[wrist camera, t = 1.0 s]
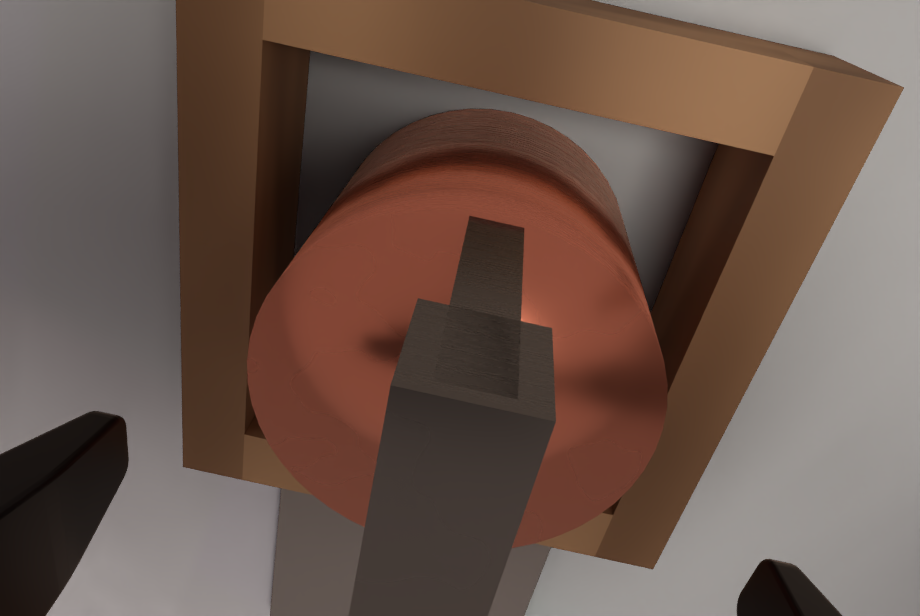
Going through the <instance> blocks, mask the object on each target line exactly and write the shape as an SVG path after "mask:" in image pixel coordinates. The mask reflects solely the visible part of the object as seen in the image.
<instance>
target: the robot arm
mask: <svg viewBox="0 0 920 616" xmlns="http://www.w3.org/2000/svg"><path fill="white" fill-rule="evenodd" d="M127 467H128V445H127V431H126V423H125V420H124V419H123V418H122V417H120V416H118V415H113V414H109V413H104V412H99V411H92V412H89V413H86V414H84V415H82V416H80V417H78V418H76V419H73V420H71V421H69V422H67V423H65V424H63V425H61V426H59V427H57V428H55V429H52V430H50V431H48V432H46V433H44V434H42V435H40V436H38V437H36V438H34V439H31V440H29V441H27V442H25V443H23V444H21V445H19V446H17V447H15V448H13V449H10V450H8V451H6V452H4V453H2V454H0V616H46V614H47V613H48V612H49V610H50V609H51V607H52V606H53V604H54V603H55V601H56V600H57V598H58V597H59V595H60V594H61V592H62V590H63V589H64V587H65V586H66V584H67V583H68V581H69V579H70V578H71V576H72V574H73V573H74V571H75V569H76V567H77V565H78V564H79V562H80V560H81V558H82V556H83V554H84V552H85V551H86V549H87V547H88V545H89V543H90V541H91V539H92V537H93V535H94V534H95V532H96V530H97V528H98V526H99V524H100V522H101V520H102V518H103V516H104V515H105V513H106V511H107V509H108V507H109V505H110V503H111V501H112V499H113V497H114V496H115V494H116V492H117V490H118V488H119V486H120V484H121V482H122V480H123V478H124V476H125V474H126V471H127ZM737 616H842V615H841V614H840V613H839V611H838V610H837V609H836V608H835V607H834V606H833V605H832V604H831V603H830V602H829V600H828V599H827V598H826V597H825V596H824V595H823V594H822V593H821V592H820V591H819V590H818V588H817V587H816V586H815V585H814V584H813V583H812V582H811V581H810V580H809V579H808V578H807V576H806V575H805V574H804V573H803V572H802V571H801V570H800V569H799V568H798V567H796V566H795V565H793V564H790V563H786V562H781V561H777V560H772V559H765V560H763V561H761V562H760V564H759V565H758V566H757V568H756V569H755V571H754V573H753V574H752V576H751V577H750V579H749V581H748V582H747V584H746V585H745V587H744V588H743V590H742V592H741V593H740V595H739V598H738V603H737Z"/></svg>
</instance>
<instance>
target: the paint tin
mask: <svg viewBox="0 0 920 616" xmlns="http://www.w3.org/2000/svg"><path fill="white" fill-rule="evenodd" d="M247 378H248V387H249V392H250V397H251V403H252V406H253V409H254V412H255V415H256V418H257V421H258V424H259V426H260V428H261V430H262V432H263V434H264V436H265V438H266V440H267V442H268V444H269V445H270V447H271V448H272V450H273V451H274V453H275V454H276V456H277V457H278V459H279V460H280V461H281V463H282V464H283V465H284V466H285V468H286V469H287V470H288V471H289V472H290V473H291V474H292V476H293V477H294V478H295V479H296V480H297V481H298V482H299V483H300V484H301V485H302V486H303V487H305V488H306V489H307V490H308V491H309V492H310V493H311V494H312V495H313V496H315V497H316V498H317V499H319V500H320V501H321V502H323V503H324V504H325V505H327V506H328V507H329V508H331V509H332V510H334V511H336V512H337V513H339V514H341V515H342V516H344V517H346V518H347V519H349V520H351V521H353V522H355V523H357V524H359V525H361V526H363V527H365V528H364V533H363V539H362V544H361V550H360V555H359V561H358V566H357V572H356V577H355V583H354V588H353V594H352V599H351V605H350V610H349V616H488V614H489V611H490V608H491V606H492V603H493V600H494V597H495V594H496V591H497V588H498V586H499V583H500V580H501V577H502V574H503V571H504V568H505V566H506V563H507V560H508V557H509V554H510V551H511V549H512V548H515V547H520V546H525V545H530V544H535V543H538V542H541V541H544V540H548V539H551V538H554V537H557V536H559V535H562V534H564V533H566V532H569V531H571V530H573V529H575V528H578V527H579V526H581V525H583V524H585V523H586V522H588V521H590V520H592V519H593V518H595V517H597V516H598V515H600V514H601V513H602V512H604V511H605V510H606V509H608V508H609V507H610V506H612V505H613V504H614V503H615V502H616V501H617V500H619V499H620V498H621V497H622V496H623V495H624V494H625V493H626V492H627V491H628V490H629V489H630V488H631V487H632V485H633V484H634V483H635V481H636V480H637V479H638V478H639V476H640V475H641V474H642V472H643V471H644V470H645V468H646V466H647V464H648V463H649V461H650V459H651V457H652V455H653V454H654V452H655V450H656V447H657V444H658V442H659V439H660V436H661V433H662V431H663V426H664V421H665V416H666V411H667V387H668V384H667V377H666V371H665V364H664V359H663V356H662V352H661V349H660V345H659V342H658V338H657V335H656V332H655V328H654V325H653V321H652V318H651V314H650V311H649V308H648V304H647V301H646V297H645V294H644V290H643V287H642V284H641V280H640V277H639V273H638V270H637V266H636V263H635V260H634V256H633V253H632V249H631V246H630V242H629V239H628V236H627V232H626V229H625V225H624V222H623V219H622V215H621V212H620V209H619V206H618V203H617V199H616V197H615V195H614V193H613V191H612V189H611V187H610V185H609V183H608V181H607V179H606V178H605V176H604V175H603V173H602V172H601V171H600V169H599V168H598V166H597V165H596V164H595V163H594V162H593V160H592V159H591V158H590V157H589V156H588V155H587V154H586V153H585V152H584V151H583V150H582V149H581V148H580V147H579V146H577V145H576V144H575V143H574V142H573V141H571V140H570V139H569V138H568V137H566V136H564V135H563V134H561V133H560V132H558V131H556V130H555V129H553V128H552V127H550V126H547V125H545V124H543V123H541V122H539V121H536V120H534V119H532V118H529V117H525V116H522V115H519V114H515V113H512V112H506V111H499V110H493V109H463V110H454V111H447V112H443V113H439V114H435V115H431V116H428V117H426V118H423V119H421V120H418V121H416V122H413V123H411V124H409V125H407V126H406V127H404V128H402V129H400V130H399V131H397V132H395V133H393V134H392V135H391V136H390V137H388V138H387V139H386V140H384V141H383V142H382V143H381V144H379V145H378V146H377V147H376V148H375V149H374V150H373V151H372V152H371V153H370V154H369V156H368V157H367V158H366V159H365V160H364V161H363V163H362V164H361V166H360V167H359V168H358V170H357V171H356V173H355V174H354V175H353V177H352V178H351V179H350V181H349V182H348V184H347V185H346V186H345V188H344V189H343V191H342V192H341V193H340V195H339V196H338V198H337V199H336V200H335V202H334V203H333V204H332V206H331V207H330V209H329V210H328V211H327V213H326V214H325V216H324V217H323V218H322V220H321V221H320V222H319V224H318V225H317V227H316V228H315V229H314V231H313V232H312V234H311V235H310V236H309V238H308V239H307V240H306V242H305V243H304V245H303V246H302V247H301V249H300V250H299V252H298V253H297V254H296V256H295V257H294V258H293V260H292V261H291V263H290V264H289V265H288V267H287V268H286V270H285V271H284V272H283V274H282V275H281V277H280V278H279V279H278V281H277V282H276V283H275V285H274V286H273V288H272V289H271V290H270V292H269V293H268V295H267V296H266V298H265V300H264V302H263V304H262V306H261V308H260V310H259V312H258V314H257V316H256V319H255V323H254V326H253V329H252V333H251V336H250V341H249V348H248V356H247Z"/></svg>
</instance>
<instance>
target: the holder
mask: <svg viewBox="0 0 920 616" xmlns="http://www.w3.org/2000/svg"><path fill="white" fill-rule="evenodd" d="M176 38H177V104H178V169H179V234H180V299H181V364H182V429H183V467H186V468H191V469H195V470H200V471H204V472H209V473H214V474H218V475H223V476H227V477H232V478H236V479H241V480H246V481H250V482H255V483H259V484H264V485H269V486H273V487H278V488H282V489H287V490H292V491H296V492H301V493H305V494H310V495H312V494H311V493H310V492H309V491H308V490H307V489H306V488H305V487H303V486H302V485H301V484H300V483H299V482H298V481H297V480H296V479H295V478H294V477H293V476H292V474H291V473H290V472H289V471H288V470H287V469H286V468H285V466H284V465H283V464H282V463H281V461H280V460H279V459H278V457H277V456H276V454H275V453H274V451H273V450H272V448H271V447H270V445H269V444H268V442H267V440H266V438H265V436H264V434H263V432H262V430H261V428H260V426H259V424H258V421H257V418H256V415H255V412H254V409H253V406H252V403H251V397H250V392H249V387H248V378H247V356H248V348H249V341H250V336H251V333H252V329H253V326H254V323H255V319H256V316H257V314H258V312H259V310H260V308H261V306H262V304H263V302H264V300H265V298H266V296H267V295H268V293H269V292H270V290H271V289H272V288H273V286H274V285H275V283H276V282H277V281H278V279H279V278H280V277H281V275H282V274H283V272H284V271H285V270H286V268H287V267H288V265H289V264H290V263H291V261H292V260H293V258H294V245H295V233H296V221H297V208H298V196H299V183H300V171H301V159H302V146H303V134H304V121H305V109H306V97H307V84H308V72H309V59H310V51H315V52H319V53H324V54H328V55H332V56H337V57H341V58H346V59H350V60H354V61H359V62H363V63H368V64H372V65H376V66H381V67H385V68H390V69H394V70H398V71H403V72H407V73H412V74H416V75H420V76H425V77H429V78H434V79H438V80H442V81H447V82H451V83H456V84H460V85H464V86H469V87H473V88H478V89H482V90H486V91H491V92H495V93H500V94H504V95H508V96H513V97H517V98H522V99H526V100H530V101H535V102H539V103H544V104H548V105H552V106H557V107H561V108H566V109H570V110H574V111H579V112H583V113H588V114H592V115H596V116H601V117H605V118H610V119H614V120H618V121H623V122H627V123H632V124H636V125H640V126H645V127H649V128H654V129H658V130H662V131H667V132H671V133H676V134H680V135H684V136H689V137H693V138H698V139H702V140H706V141H711V142H715V143H719V144H718V147H717V149H716V152H715V154H714V157H713V159H712V162H711V164H710V167H709V169H708V172H707V174H706V177H705V179H704V182H703V184H702V187H701V189H700V192H699V194H698V197H697V199H696V202H695V204H694V207H693V209H692V212H691V214H690V217H689V219H688V222H687V224H686V227H685V229H684V232H683V234H682V237H681V239H680V242H679V244H678V247H677V249H676V252H675V254H674V257H673V259H672V262H671V264H670V267H669V269H668V272H667V274H666V277H665V279H664V282H663V284H662V287H661V289H660V292H659V294H658V297H657V299H656V301H655V304H654V306H653V309H652V311H651V318H652V321H653V325H654V328H655V332H656V335H657V338H658V342H659V345H660V349H661V352H662V356H663V359H664V364H665V371H666V377H667V384H668V387H667V411H666V416H665V421H664V426H663V431H662V433H661V436H660V439H659V442H658V444H657V447H656V450H655V452H654V454H653V455H652V457H651V459H650V461H649V463H648V464H647V466H646V468H645V470H644V471H643V472H642V474H641V475H640V476H639V478H638V479H637V480H636V481H635V483H634V484H633V485H632V487H631V488H630V489H629V490H628V491H627V492H626V493H625V494H624V495H623V496H622V497H621V498H620V499H619V500H617V501H616V502H615V503H614V504H613V505H612V506H610V507H609V508H608V509H606V510H605V511H604V512H602V513H601V514H600V515H598V516H597V517H595V518H593V519H592V520H590V521H588V522H586V523H585V524H583V525H581V526H579V527H578V528H575V529H573V530H571V531H569V532H566V533H564V534H562V535H559V536H557V537H554V538H551V539H548V540H544V541H541V542H538V543H535V544H539V545H544V546H548V547H553V548H558V549H562V550H567V551H571V552H576V553H581V554H585V555H590V556H594V557H599V558H603V559H608V560H613V561H617V562H622V563H626V564H631V565H636V566H640V567H645V568H649V569H653V568H654V566H655V564H656V563H657V561H658V559H659V557H660V555H661V553H662V551H663V549H664V547H665V545H666V543H667V541H668V540H669V538H670V536H671V534H672V532H673V530H674V528H675V526H676V524H677V522H678V520H679V518H680V516H681V515H682V513H683V511H684V509H685V507H686V505H687V503H688V501H689V499H690V497H691V495H692V493H693V492H694V490H695V488H696V486H697V484H698V482H699V480H700V478H701V476H702V474H703V472H704V470H705V469H706V467H707V465H708V463H709V461H710V459H711V457H712V455H713V453H714V451H715V449H716V447H717V446H718V444H719V442H720V440H721V438H722V436H723V434H724V432H725V430H726V428H727V426H728V424H729V422H730V421H731V419H732V417H733V415H734V413H735V411H736V409H737V407H738V405H739V403H740V401H741V399H742V398H743V396H744V394H745V392H746V390H747V388H748V386H749V384H750V382H751V380H752V378H753V376H754V375H755V373H756V371H757V369H758V367H759V365H760V363H761V361H762V359H763V357H764V355H765V353H766V351H767V350H768V348H769V346H770V344H771V342H772V340H773V338H774V336H775V334H776V332H777V330H778V328H779V327H780V325H781V323H782V321H783V319H784V317H785V315H786V313H787V311H788V309H789V307H790V305H791V304H792V302H793V300H794V298H795V296H796V294H797V292H798V290H799V288H800V286H801V284H802V282H803V280H804V279H805V277H806V275H807V273H808V271H809V269H810V267H811V265H812V263H813V261H814V259H815V257H816V256H817V254H818V252H819V250H820V248H821V246H822V244H823V242H824V240H825V238H826V236H827V234H828V233H829V231H830V229H831V227H832V225H833V223H834V221H835V219H836V217H837V215H838V213H839V211H840V209H841V208H842V206H843V204H844V202H845V200H846V198H847V196H848V194H849V192H850V190H851V188H852V186H853V185H854V183H855V181H856V179H857V177H858V175H859V173H860V171H861V169H862V167H863V165H864V163H865V162H866V160H867V158H868V156H869V154H870V152H871V150H872V148H873V146H874V144H875V142H876V140H877V139H878V137H879V135H880V133H881V131H882V129H883V127H884V125H885V123H886V121H887V119H888V117H889V115H890V114H891V112H892V110H893V108H894V106H895V104H896V102H897V100H898V98H899V96H900V94H901V92H902V91H903V89H904V87H901V86H899V85H897V84H895V83H893V82H890V81H888V80H886V79H884V78H881V77H879V76H877V75H875V74H873V73H870V72H868V71H866V70H864V69H861V68H859V67H857V66H855V65H853V64H850V63H848V62H846V61H844V60H841V59H839V58H837V57H835V56H832V55H827V54H823V53H818V52H814V51H810V50H805V49H801V48H797V47H792V46H788V45H784V44H779V43H775V42H771V41H766V40H762V39H758V38H753V37H749V36H744V35H740V34H736V33H731V32H727V31H723V30H718V29H714V28H710V27H705V26H701V25H697V24H692V23H688V22H683V21H679V20H675V19H670V18H666V17H662V16H657V15H653V14H649V13H644V12H640V11H636V10H631V9H627V8H622V7H618V6H614V5H609V4H605V3H601V2H596V1H592V0H176Z"/></svg>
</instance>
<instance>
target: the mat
mask: <svg viewBox="0 0 920 616" xmlns="http://www.w3.org/2000/svg"><path fill="white" fill-rule="evenodd" d="M364 528H365V527H363V526H361V525H359V524H357V523H355V522H353V521H351V520H349V519H347V518H346V517H344V516H342V515H341V514H339V513H337V512H336V511H334V510H332V509H331V508H329V507H328V506H327V505H325V504H324V503H323V502H321V501H320V500H319V499H317V498H316V497H315V496H313V495H310V494H305V493H301V492H296V491H292V490H287V489H282V488H281V496H280V507H279V519H278V530H277V542H276V553H275V565H274V576H273V588H272V599H271V611H270V616H349V610H350V605H351V599H352V594H353V588H354V583H355V577H356V572H357V566H358V561H359V555H360V550H361V544H362V539H363V533H364ZM550 549H551V547H548V546H544V545H539V544H530V545H525V546H520V547H515V548H512V549H511V551H510V554H509V557H508V560H507V563H506V566H505V568H504V571H503V574H502V577H501V580H500V583H499V586H498V588H497V591H496V594H495V597H494V600H493V603H492V606H491V608H490V611H489V614H488V616H524V615H525V612H526V610H527V607H528V604H529V602H530V599H531V597H532V594H533V592H534V589H535V587H536V584H537V582H538V579H539V577H540V574H541V572H542V569H543V566H544V564H545V561H546V559H547V556H548V554H549V551H550Z"/></svg>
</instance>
